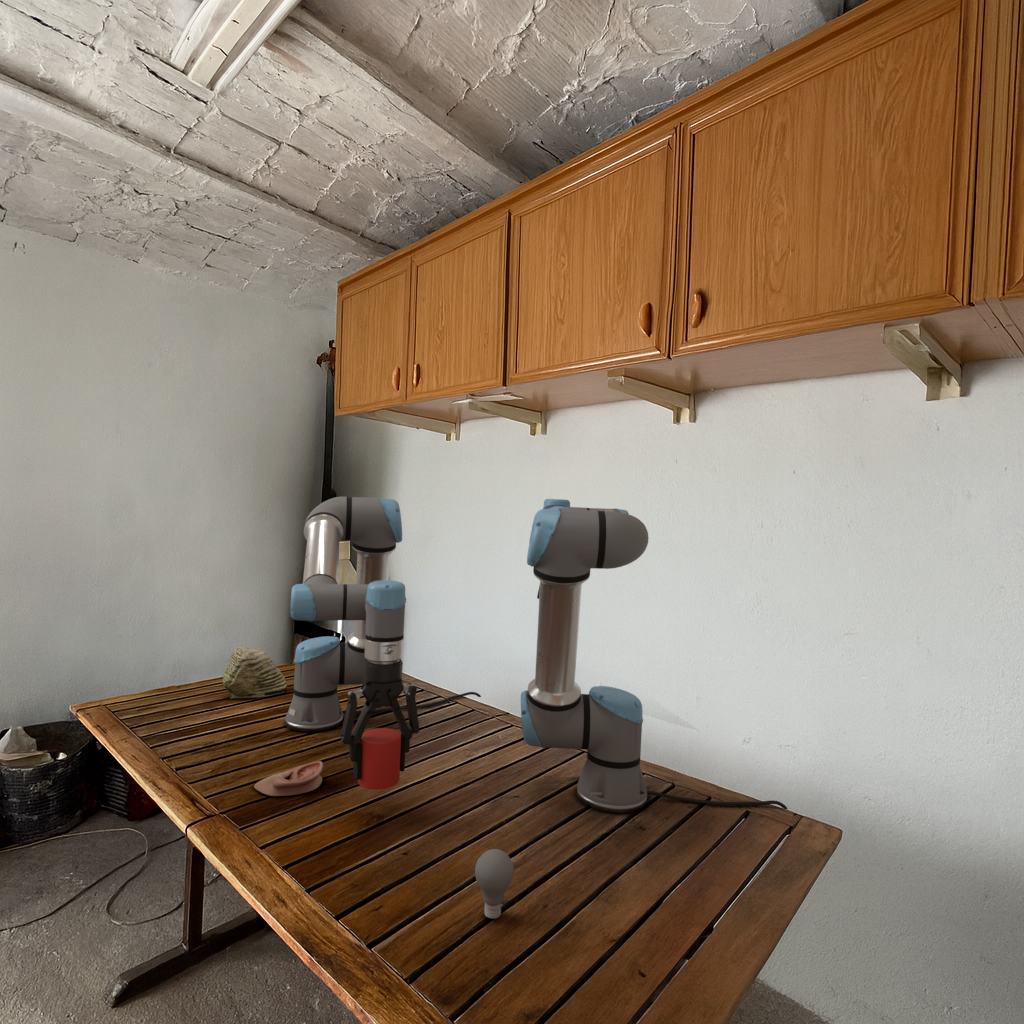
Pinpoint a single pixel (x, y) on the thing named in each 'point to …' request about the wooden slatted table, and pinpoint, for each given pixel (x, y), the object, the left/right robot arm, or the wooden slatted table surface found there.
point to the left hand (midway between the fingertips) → (379, 772)
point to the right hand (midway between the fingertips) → (551, 630)
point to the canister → (380, 758)
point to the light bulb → (494, 879)
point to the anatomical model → (292, 781)
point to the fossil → (252, 674)
